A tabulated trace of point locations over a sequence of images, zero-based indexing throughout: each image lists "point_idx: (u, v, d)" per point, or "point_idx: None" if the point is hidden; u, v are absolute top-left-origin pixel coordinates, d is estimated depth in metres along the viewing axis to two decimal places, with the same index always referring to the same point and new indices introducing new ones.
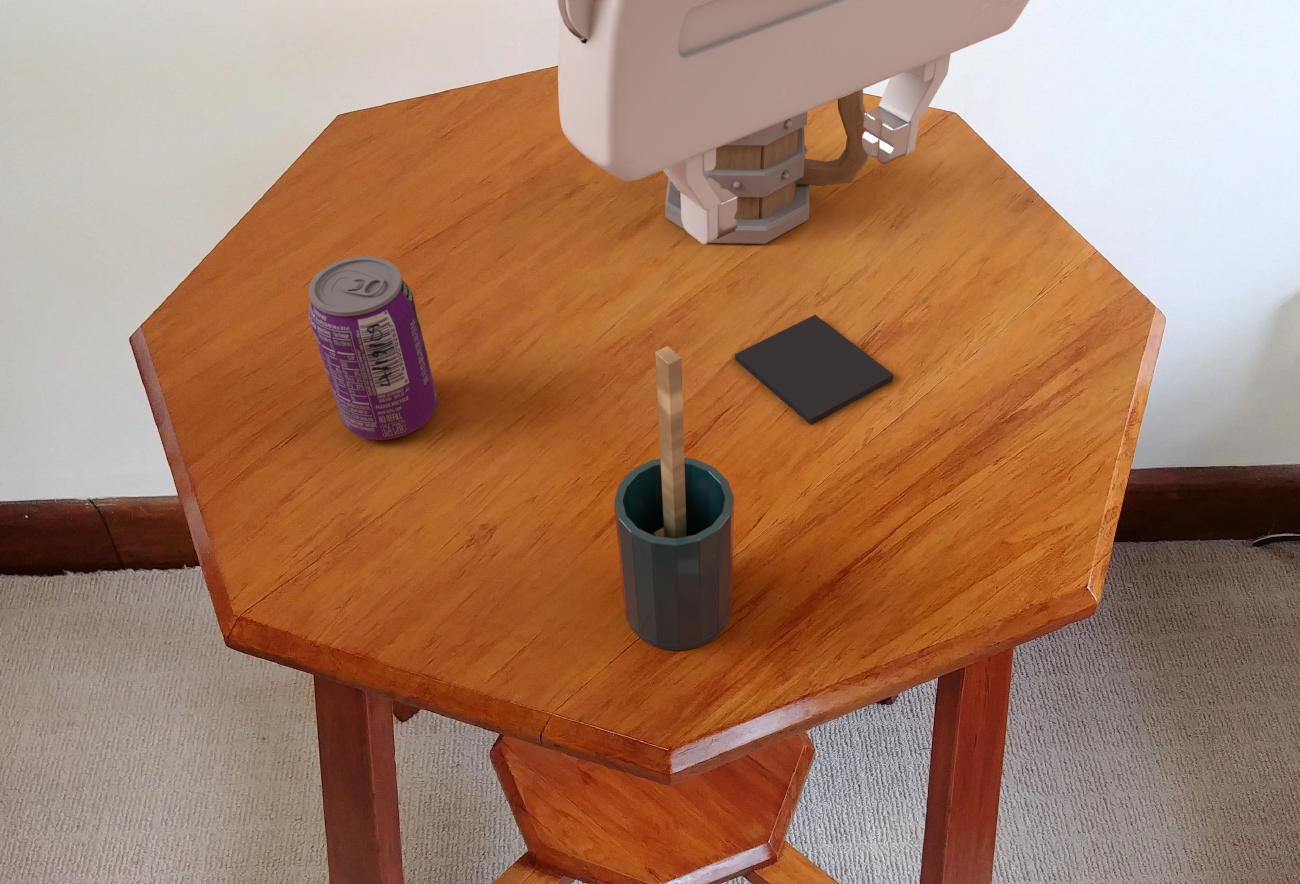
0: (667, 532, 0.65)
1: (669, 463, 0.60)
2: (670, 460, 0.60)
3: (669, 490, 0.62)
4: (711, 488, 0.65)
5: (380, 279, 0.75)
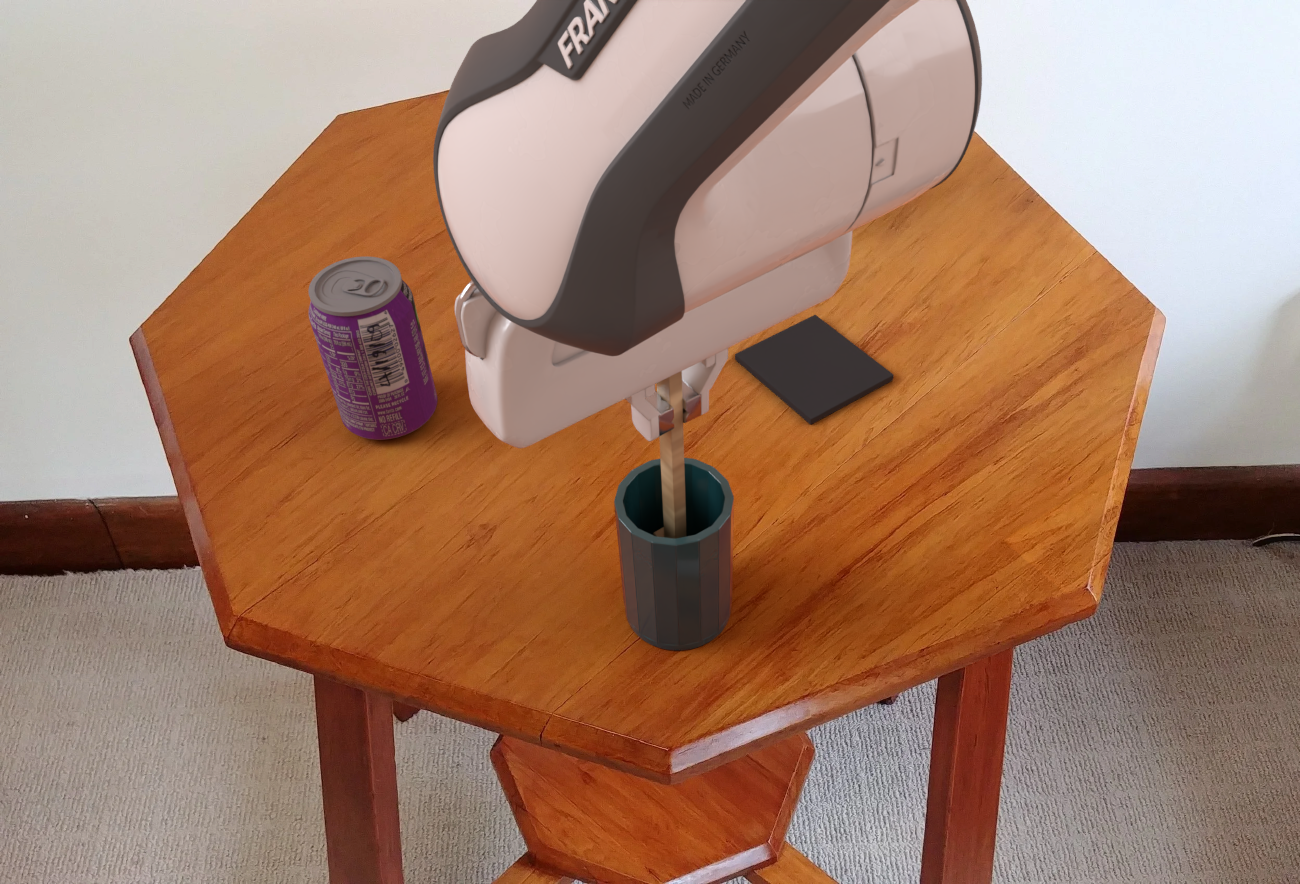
0: (667, 532, 0.65)
1: (669, 463, 0.60)
2: (670, 460, 0.60)
3: (669, 490, 0.62)
4: (711, 488, 0.65)
5: (380, 279, 0.75)
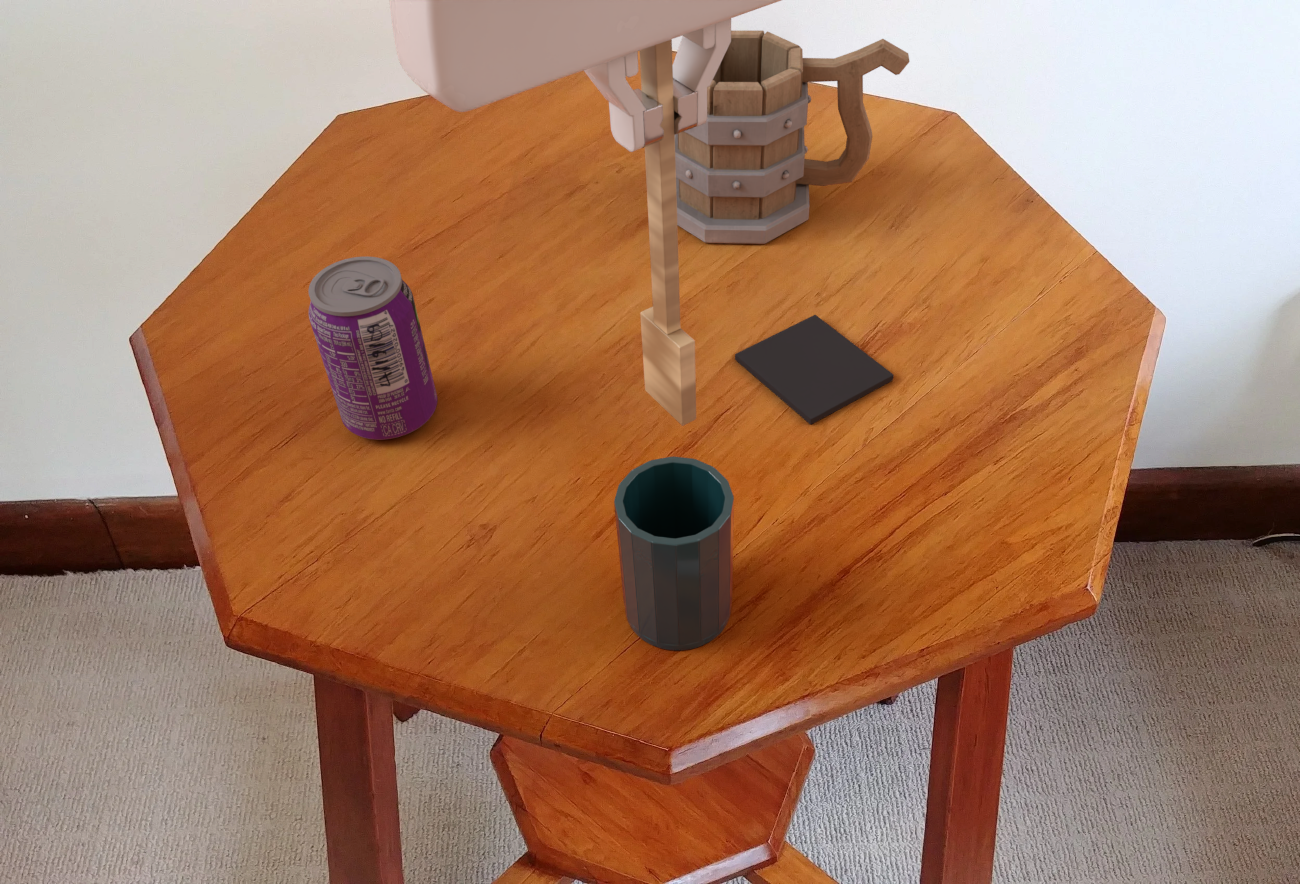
0: (656, 304, 0.53)
1: (657, 196, 0.48)
2: (659, 190, 0.48)
3: (658, 238, 0.50)
4: (711, 488, 0.65)
5: (380, 279, 0.75)
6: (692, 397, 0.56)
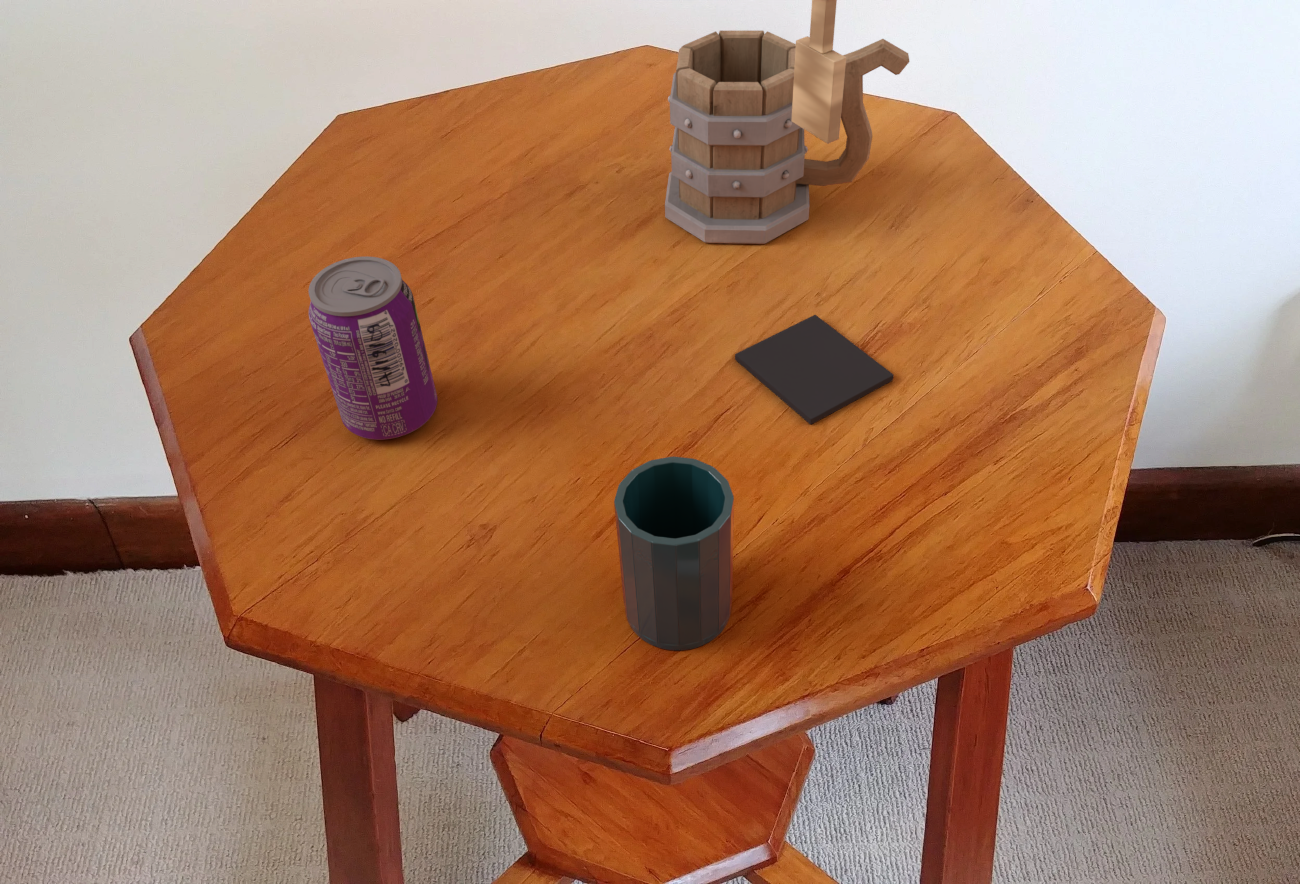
0: (814, 25, 0.63)
1: None
2: None
3: None
4: (711, 488, 0.65)
5: (380, 279, 0.75)
6: (838, 116, 0.66)
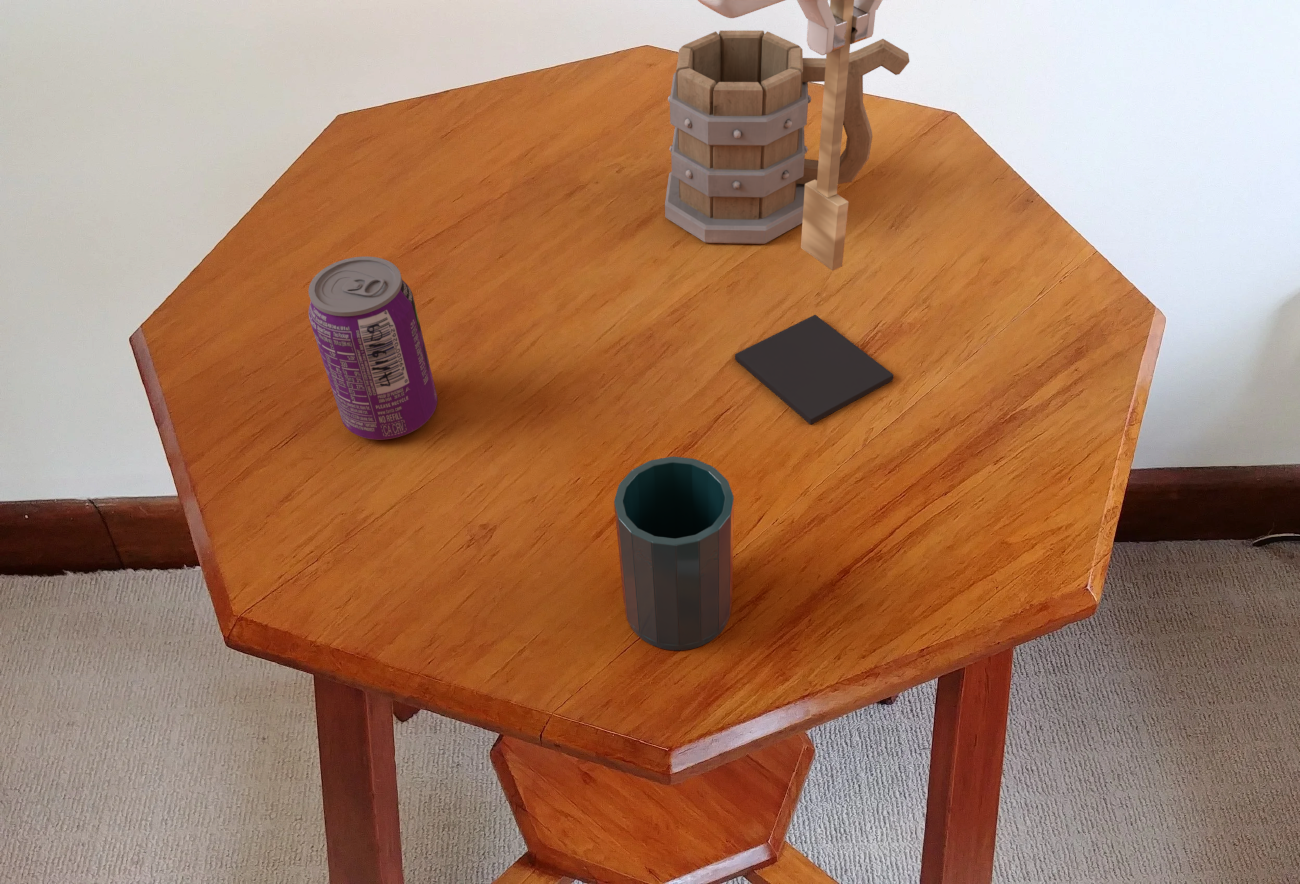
0: (821, 174, 0.73)
1: (833, 89, 0.68)
2: (835, 85, 0.68)
3: (829, 122, 0.70)
4: (711, 488, 0.65)
5: (380, 279, 0.75)
6: (841, 247, 0.76)
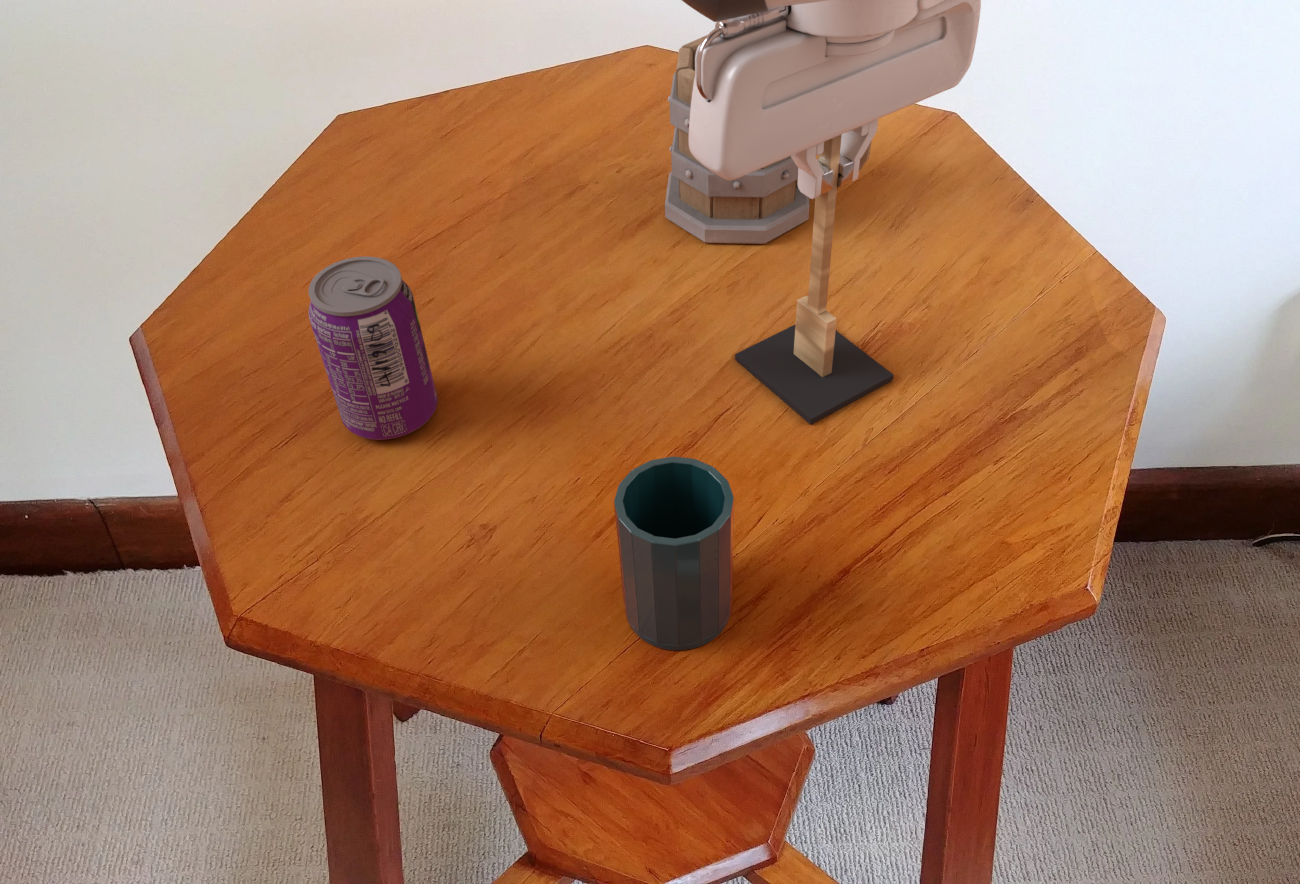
0: (811, 294, 0.80)
1: (822, 224, 0.75)
2: (824, 220, 0.75)
3: (819, 250, 0.77)
4: (711, 488, 0.65)
5: (380, 279, 0.75)
6: (830, 357, 0.82)
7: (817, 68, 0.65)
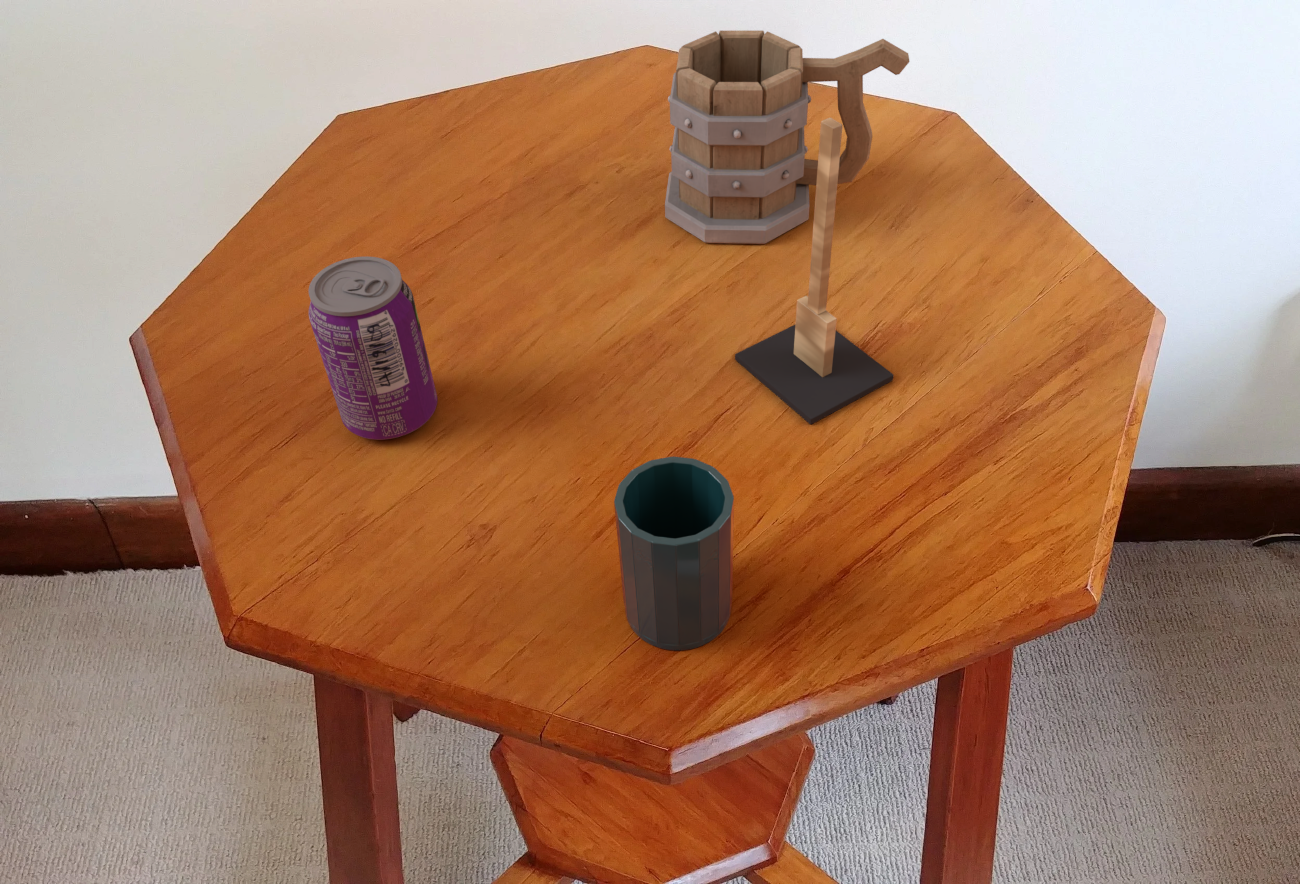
0: (811, 294, 0.80)
1: (822, 224, 0.75)
2: (823, 220, 0.75)
3: (819, 251, 0.77)
4: (711, 488, 0.65)
5: (380, 279, 0.75)
6: (830, 357, 0.82)
7: None
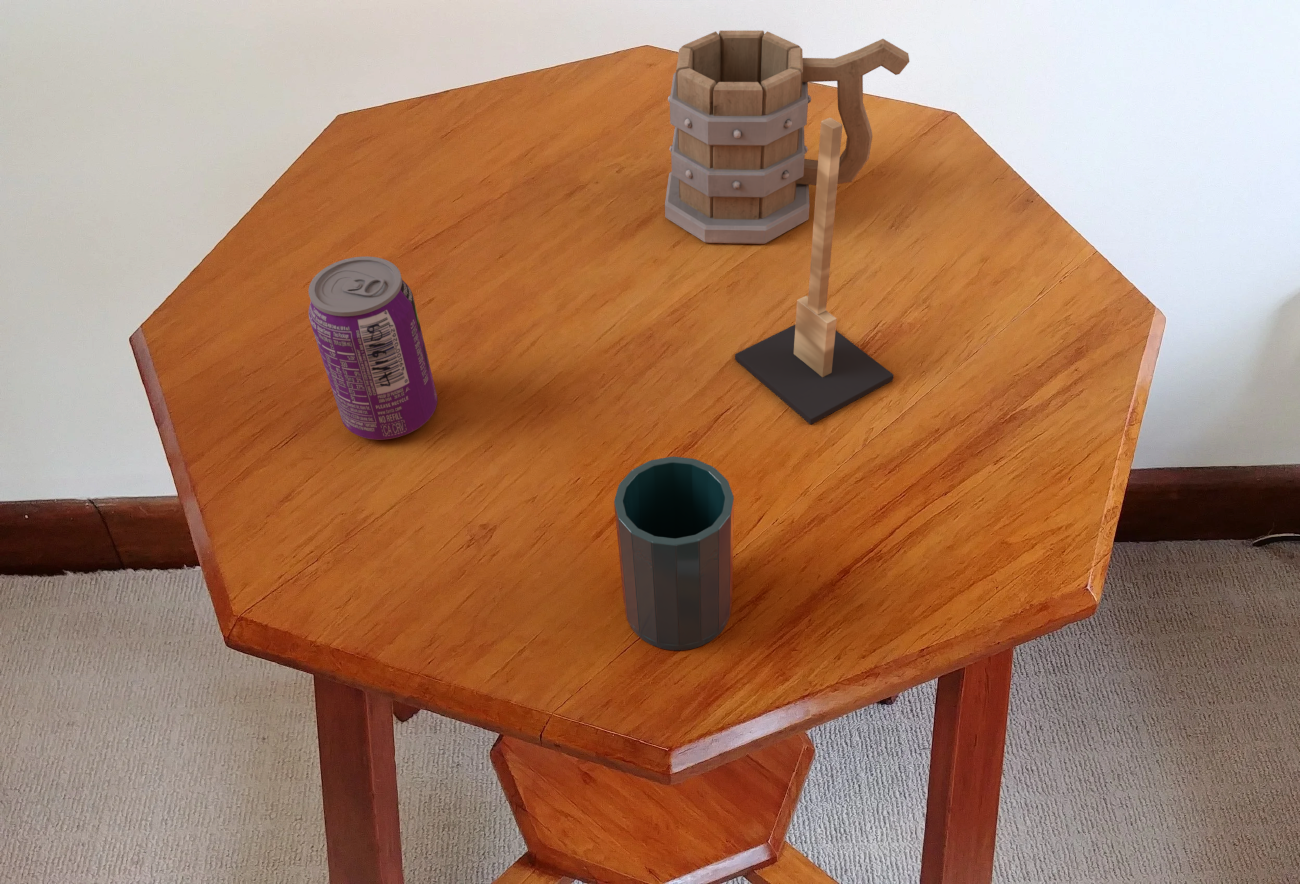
0: (811, 294, 0.80)
1: (822, 224, 0.75)
2: (823, 220, 0.75)
3: (819, 251, 0.77)
4: (711, 488, 0.65)
5: (380, 279, 0.75)
6: (830, 357, 0.82)
7: None
